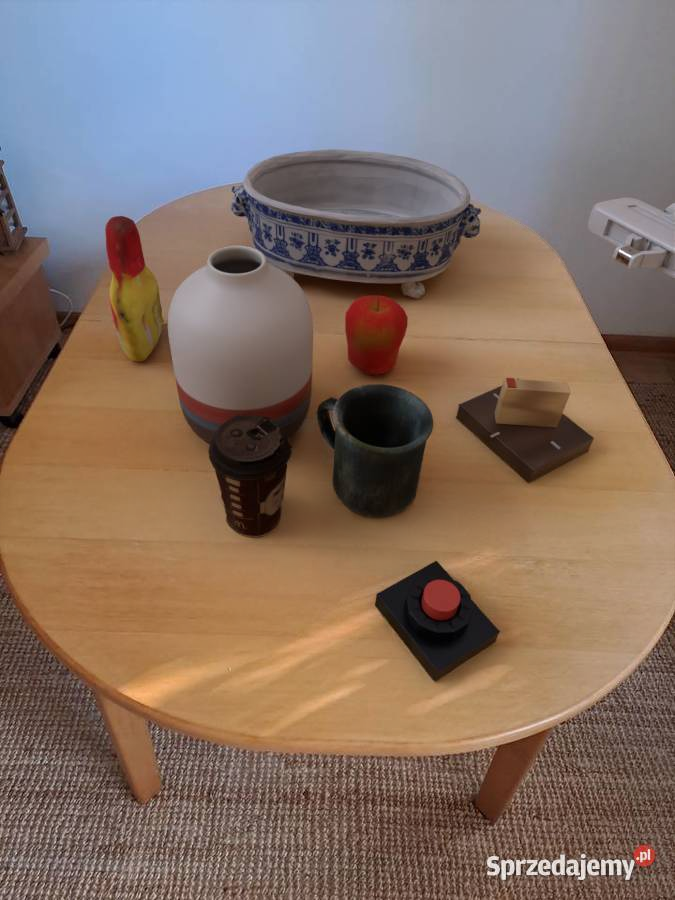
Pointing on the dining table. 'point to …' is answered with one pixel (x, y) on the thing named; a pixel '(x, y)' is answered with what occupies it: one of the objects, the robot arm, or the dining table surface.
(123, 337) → the bottle
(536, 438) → the dark flat block
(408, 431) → the mug
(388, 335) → the apple
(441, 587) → the red button
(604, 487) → the dining table surface
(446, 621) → the button box
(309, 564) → the dining table surface
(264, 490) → the coffee cup
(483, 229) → the dining table surface
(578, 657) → the dining table surface
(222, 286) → the vase
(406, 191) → the decorative bowl
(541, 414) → the wooden block
